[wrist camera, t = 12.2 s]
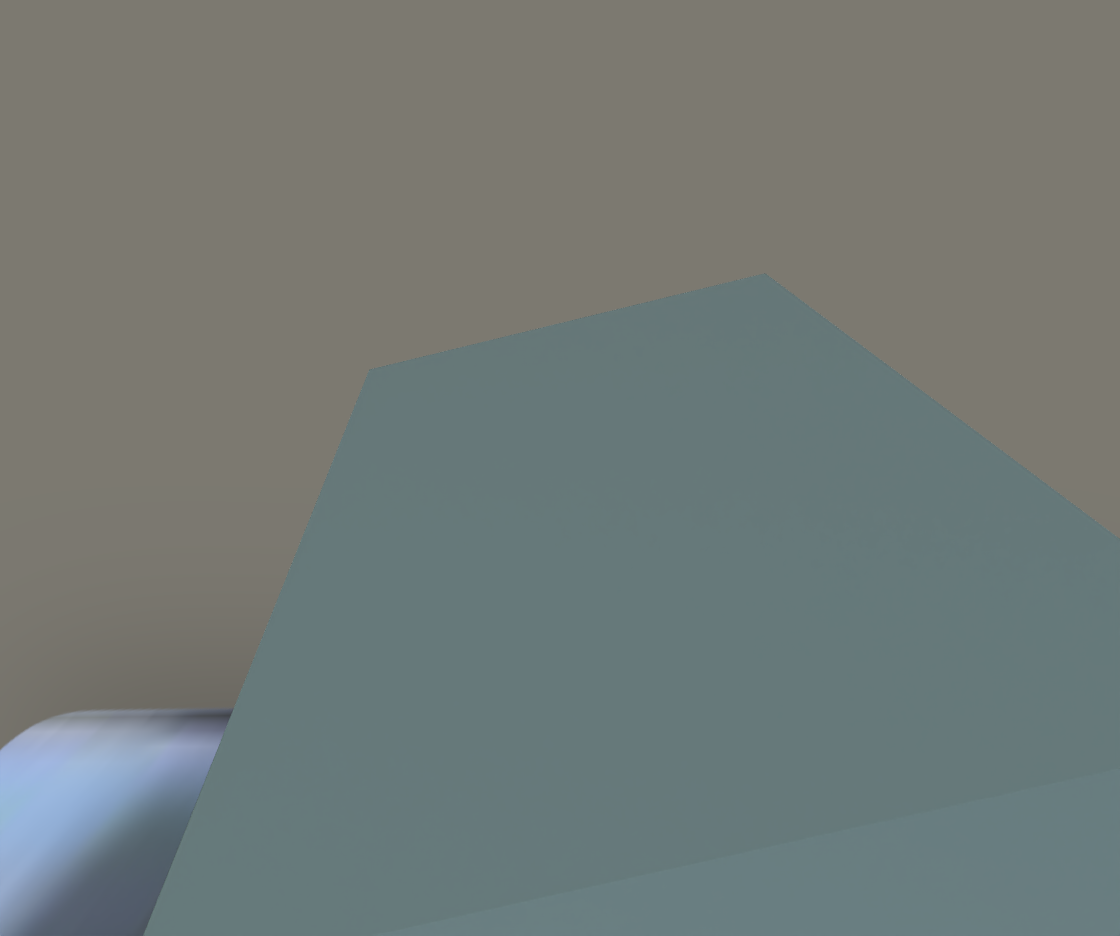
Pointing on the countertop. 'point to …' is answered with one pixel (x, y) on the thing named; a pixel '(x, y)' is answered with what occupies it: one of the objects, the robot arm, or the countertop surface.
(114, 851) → the countertop surface
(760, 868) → the book
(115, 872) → the countertop surface
